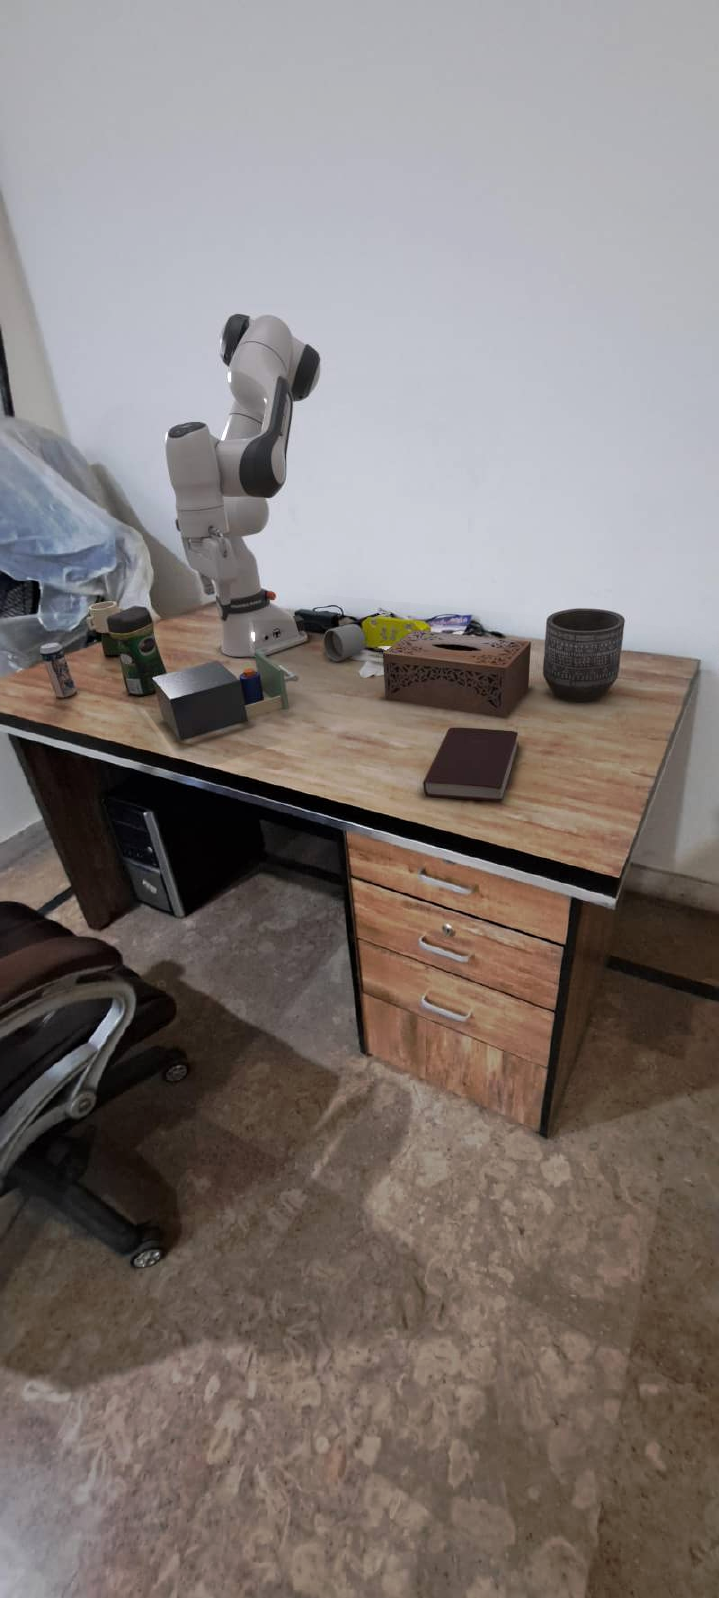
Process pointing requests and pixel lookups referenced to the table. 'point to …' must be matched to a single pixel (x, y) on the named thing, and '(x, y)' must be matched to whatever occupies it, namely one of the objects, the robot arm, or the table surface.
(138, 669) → the coffee jar
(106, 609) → the character mug
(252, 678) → the glue bottle
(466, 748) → the book
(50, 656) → the beer can
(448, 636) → the tissue box cover
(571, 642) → the planter
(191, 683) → the drawer unit
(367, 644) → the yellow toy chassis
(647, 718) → the table surface
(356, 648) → the ceramic mug
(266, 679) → the drawer
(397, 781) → the table surface
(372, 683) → the table surface
